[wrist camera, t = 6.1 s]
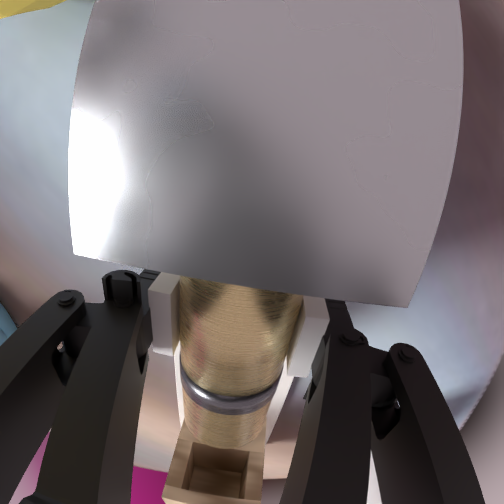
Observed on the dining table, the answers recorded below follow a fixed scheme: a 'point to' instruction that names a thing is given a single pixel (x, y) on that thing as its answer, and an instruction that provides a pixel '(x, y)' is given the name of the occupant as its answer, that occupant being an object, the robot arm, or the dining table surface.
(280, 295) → the slip tube
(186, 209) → the sleeve
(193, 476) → the socket block
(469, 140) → the dining table surface
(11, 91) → the dining table surface
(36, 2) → the vase
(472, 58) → the dining table surface
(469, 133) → the dining table surface
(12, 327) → the teapot
